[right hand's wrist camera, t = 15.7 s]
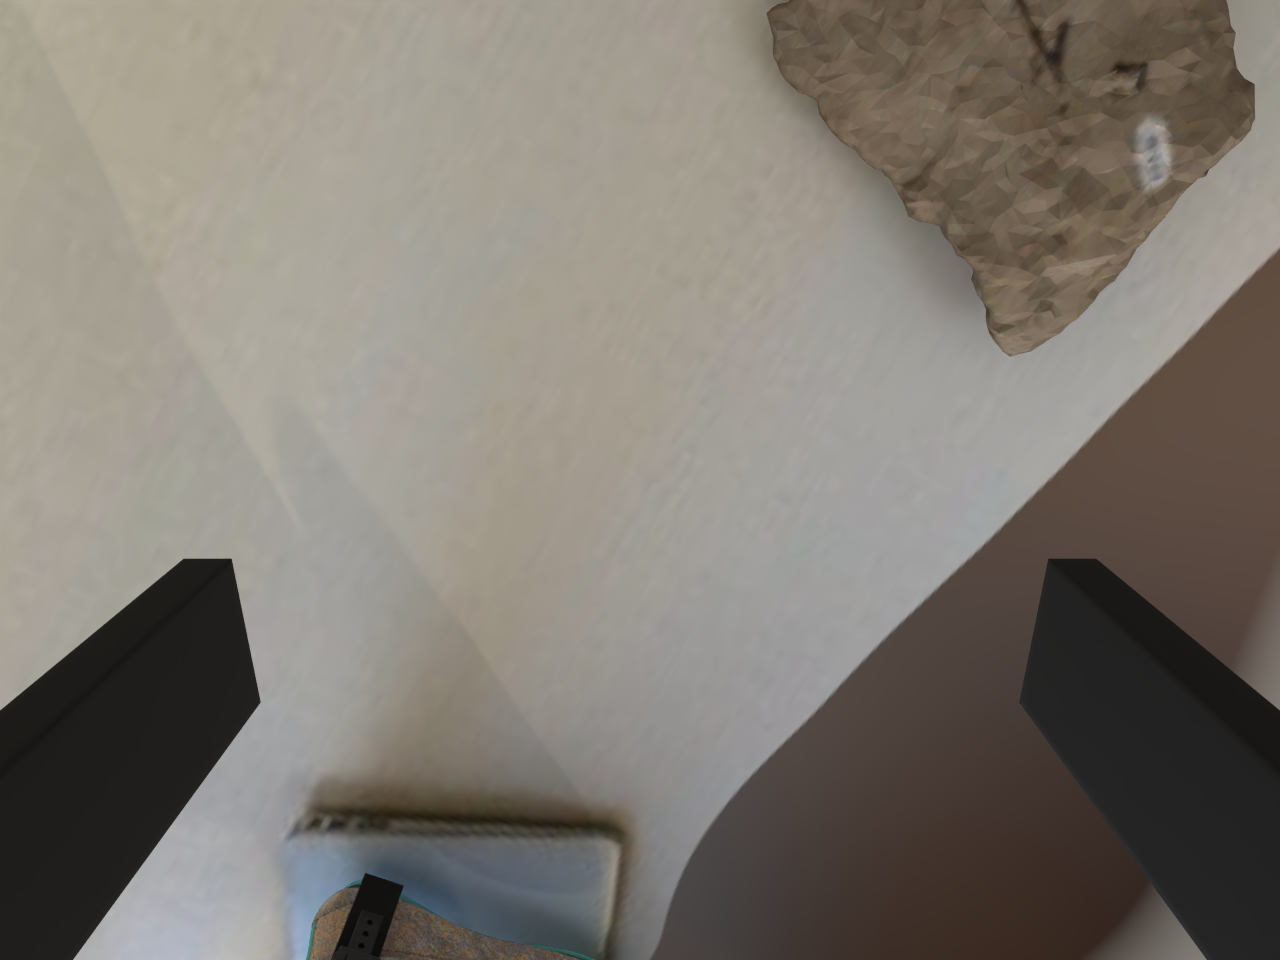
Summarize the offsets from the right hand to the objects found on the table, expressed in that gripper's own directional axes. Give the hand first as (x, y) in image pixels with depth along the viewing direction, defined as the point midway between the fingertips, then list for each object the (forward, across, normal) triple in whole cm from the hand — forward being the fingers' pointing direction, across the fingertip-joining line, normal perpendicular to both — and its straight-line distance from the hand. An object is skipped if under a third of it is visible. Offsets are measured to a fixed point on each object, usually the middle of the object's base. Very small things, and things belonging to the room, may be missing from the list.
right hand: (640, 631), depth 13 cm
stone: (+32, +17, +11) cm, 38 cm away
